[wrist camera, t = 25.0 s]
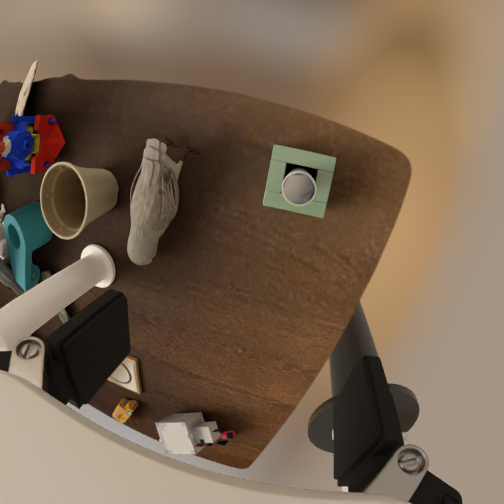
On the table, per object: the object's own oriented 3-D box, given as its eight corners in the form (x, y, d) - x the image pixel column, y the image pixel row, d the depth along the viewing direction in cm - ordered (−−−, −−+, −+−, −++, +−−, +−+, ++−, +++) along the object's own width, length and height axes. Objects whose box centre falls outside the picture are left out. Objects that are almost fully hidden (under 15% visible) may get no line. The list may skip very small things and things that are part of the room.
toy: (147, 420, 35) (241, 435, 36) (166, 390, 52) (235, 401, 53) (147, 475, 33) (233, 488, 34) (163, 436, 49) (229, 446, 51)
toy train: (24, 117, 32) (-39, 121, 18) (74, 110, 31) (-4, 107, 17) (19, 169, 36) (-43, 184, 22) (67, 175, 34) (-10, 192, 20)
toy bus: (134, 412, 46) (119, 401, 46) (124, 425, 50) (111, 416, 49) (140, 403, 49) (126, 392, 49) (130, 417, 52) (117, 407, 52)
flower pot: (95, 145, 32) (52, 148, 24) (139, 179, 33) (98, 188, 25) (74, 199, 36) (33, 211, 28) (113, 234, 36) (74, 254, 28)
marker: (311, 169, 29) (320, 175, 17) (307, 188, 30) (312, 209, 18) (290, 164, 29) (285, 168, 17) (287, 184, 30) (278, 202, 18)
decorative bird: (136, 247, 36) (104, 267, 29) (167, 133, 30) (134, 129, 23) (168, 263, 36) (141, 287, 29) (205, 146, 30) (179, 143, 23)
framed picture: (137, 358, 44) (134, 361, 43) (142, 392, 47) (139, 395, 46) (94, 340, 45) (91, 342, 44) (102, 374, 48) (100, 377, 47)
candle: (120, 287, 39) (5, 388, 16) (89, 284, 40) (-19, 368, 17) (110, 243, 37) (-27, 329, 13) (79, 243, 38) (-44, 315, 15)
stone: (73, 332, 42) (62, 331, 44) (80, 327, 44) (68, 326, 46) (47, 270, 39) (38, 273, 41) (55, 266, 41) (45, 269, 43)
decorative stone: (18, 132, 34) (10, 132, 32) (35, 67, 30) (27, 66, 29) (23, 128, 30) (13, 127, 28) (43, 54, 26) (34, 53, 25)
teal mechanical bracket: (26, 232, 30) (4, 205, 30) (25, 292, 37) (4, 266, 37) (55, 217, 36) (32, 193, 36) (47, 275, 43) (26, 251, 43)
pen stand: (330, 158, 28) (336, 157, 24) (319, 209, 31) (323, 218, 26) (277, 146, 29) (273, 144, 24) (268, 198, 31) (262, 205, 26)
